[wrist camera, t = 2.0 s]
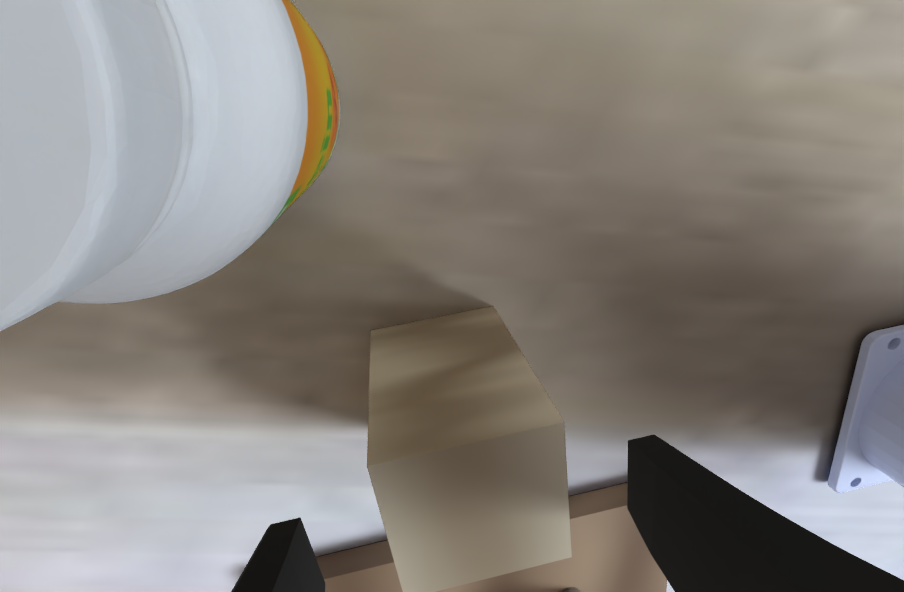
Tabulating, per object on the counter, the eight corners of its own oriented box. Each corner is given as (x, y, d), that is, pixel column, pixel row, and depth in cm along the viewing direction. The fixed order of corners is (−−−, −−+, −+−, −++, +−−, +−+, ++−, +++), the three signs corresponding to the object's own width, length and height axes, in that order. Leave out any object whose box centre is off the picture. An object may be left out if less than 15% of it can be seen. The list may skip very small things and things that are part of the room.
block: (493, 305, 15) (564, 421, 9) (504, 406, 16) (571, 557, 11) (370, 330, 14) (367, 466, 9) (394, 430, 16) (404, 599, 10)
